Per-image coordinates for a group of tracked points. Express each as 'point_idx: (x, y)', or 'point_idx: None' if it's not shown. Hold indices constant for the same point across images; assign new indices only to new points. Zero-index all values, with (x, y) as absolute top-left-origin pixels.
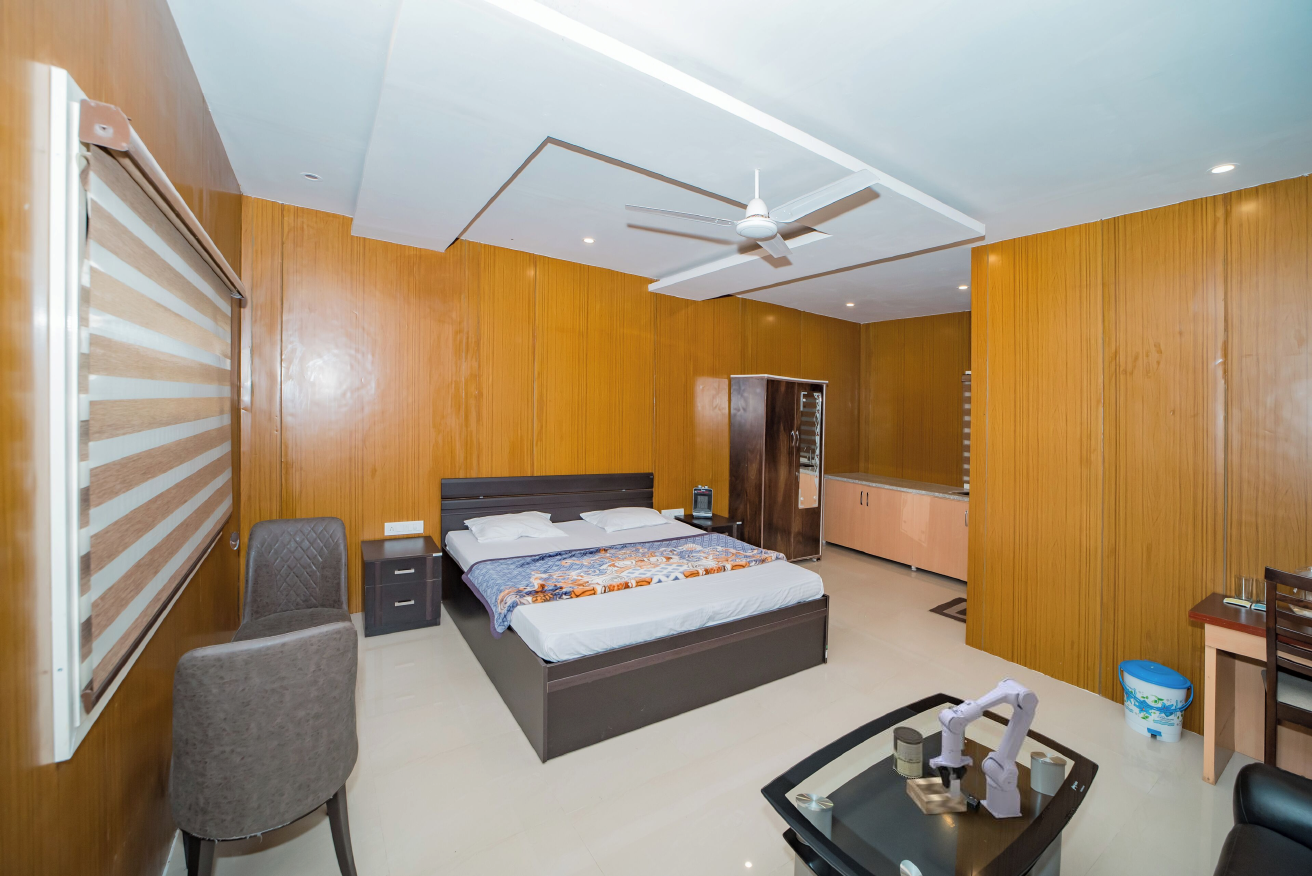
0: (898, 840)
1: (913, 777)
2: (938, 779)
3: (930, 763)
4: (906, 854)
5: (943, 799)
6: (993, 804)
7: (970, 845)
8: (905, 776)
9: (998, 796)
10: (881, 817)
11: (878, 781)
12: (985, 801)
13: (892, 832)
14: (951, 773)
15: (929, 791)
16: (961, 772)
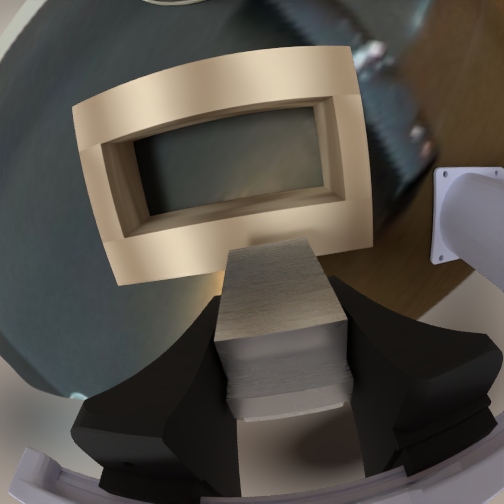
0: (60, 353)
1: (187, 1)
2: (286, 66)
3: (28, 471)
4: (78, 385)
5: (222, 266)
6: (459, 249)
7: None
8: (151, 2)
9: (492, 280)
10: (19, 276)
11: (33, 75)
12: (451, 177)
13: (45, 329)
14: (297, 398)
15: (205, 119)
16: (366, 471)
